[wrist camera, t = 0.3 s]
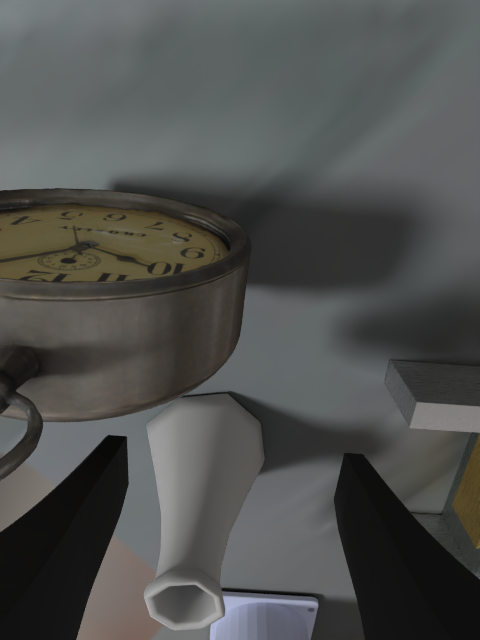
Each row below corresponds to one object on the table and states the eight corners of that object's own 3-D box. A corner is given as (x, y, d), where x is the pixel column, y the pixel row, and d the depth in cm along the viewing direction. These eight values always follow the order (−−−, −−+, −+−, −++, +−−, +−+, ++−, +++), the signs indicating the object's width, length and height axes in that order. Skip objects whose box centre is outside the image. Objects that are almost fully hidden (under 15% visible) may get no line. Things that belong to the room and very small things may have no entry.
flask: (127, 415, 25) (57, 576, 16) (234, 372, 24) (226, 521, 14) (183, 496, 28) (151, 674, 18) (283, 462, 26) (302, 636, 17)
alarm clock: (251, 202, 20) (263, 401, 5) (238, 306, 22) (221, 662, 7) (20, 175, 19) (-723, 300, 5) (31, 283, 22) (-446, 607, 7)
